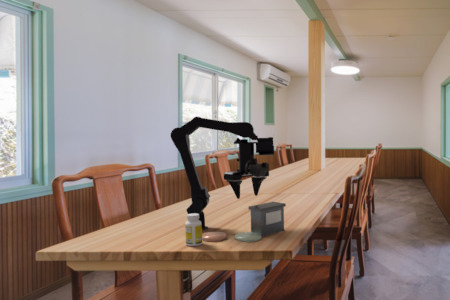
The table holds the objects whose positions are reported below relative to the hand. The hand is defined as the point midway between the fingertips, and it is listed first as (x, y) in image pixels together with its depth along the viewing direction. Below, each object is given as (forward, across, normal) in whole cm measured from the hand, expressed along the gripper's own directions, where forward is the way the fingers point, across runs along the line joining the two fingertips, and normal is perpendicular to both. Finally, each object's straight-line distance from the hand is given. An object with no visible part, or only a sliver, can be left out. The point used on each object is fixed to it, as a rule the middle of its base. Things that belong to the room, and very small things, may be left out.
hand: (247, 197), depth 141 cm
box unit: (+12, 0, -10) cm, 15 cm away
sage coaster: (+12, -10, -10) cm, 18 cm away
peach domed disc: (+12, -18, -1) cm, 21 cm away
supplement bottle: (+12, -27, -2) cm, 29 cm away
